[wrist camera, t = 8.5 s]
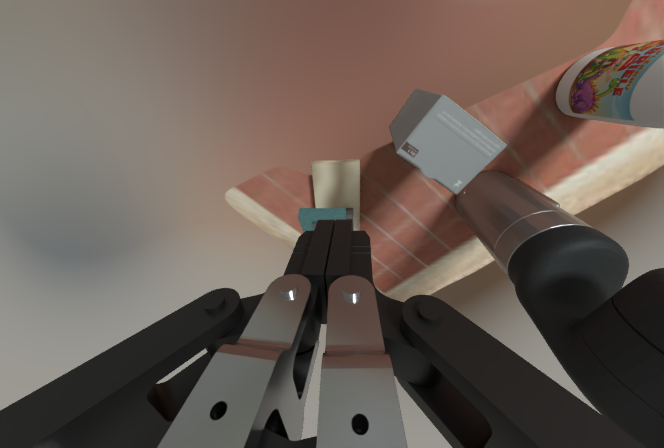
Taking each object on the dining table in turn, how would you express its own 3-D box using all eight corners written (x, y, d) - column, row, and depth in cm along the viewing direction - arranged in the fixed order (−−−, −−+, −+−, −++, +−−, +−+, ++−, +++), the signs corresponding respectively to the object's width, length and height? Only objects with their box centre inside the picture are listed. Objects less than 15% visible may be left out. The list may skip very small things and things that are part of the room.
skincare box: (458, 119, 35) (520, 141, 22) (424, 159, 39) (459, 200, 25) (413, 84, 34) (450, 84, 20) (382, 129, 37) (395, 156, 23)
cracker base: (359, 159, 40) (359, 187, 29) (359, 251, 49) (359, 299, 38) (312, 161, 41) (295, 189, 30) (321, 251, 50) (310, 297, 39)
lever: (349, 182, 34) (345, 211, 24) (351, 279, 41) (348, 330, 32) (314, 183, 35) (297, 212, 25) (322, 278, 42) (311, 328, 32)
